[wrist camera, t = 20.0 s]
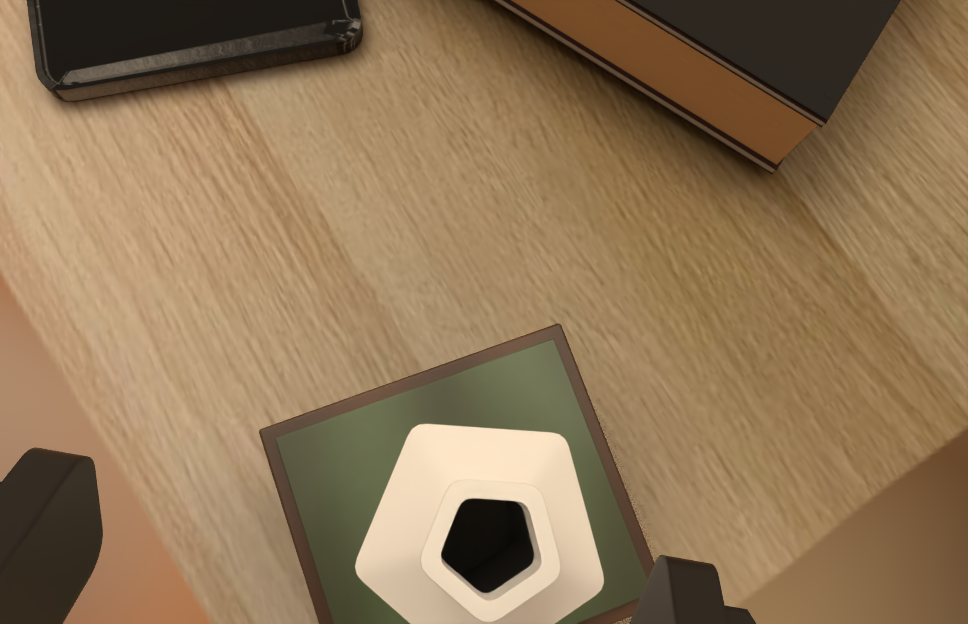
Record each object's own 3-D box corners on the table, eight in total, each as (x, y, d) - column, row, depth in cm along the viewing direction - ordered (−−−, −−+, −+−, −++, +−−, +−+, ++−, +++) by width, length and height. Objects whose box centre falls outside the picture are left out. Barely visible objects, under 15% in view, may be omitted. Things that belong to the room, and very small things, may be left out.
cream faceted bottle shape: (376, 466, 28) (307, 437, 13) (504, 434, 28) (577, 370, 13) (408, 607, 27) (371, 746, 12) (539, 572, 27) (658, 664, 13)
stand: (372, 672, 35) (350, 734, 26) (299, 444, 36) (255, 429, 28) (615, 575, 36) (673, 602, 27) (533, 359, 38) (562, 319, 29)
